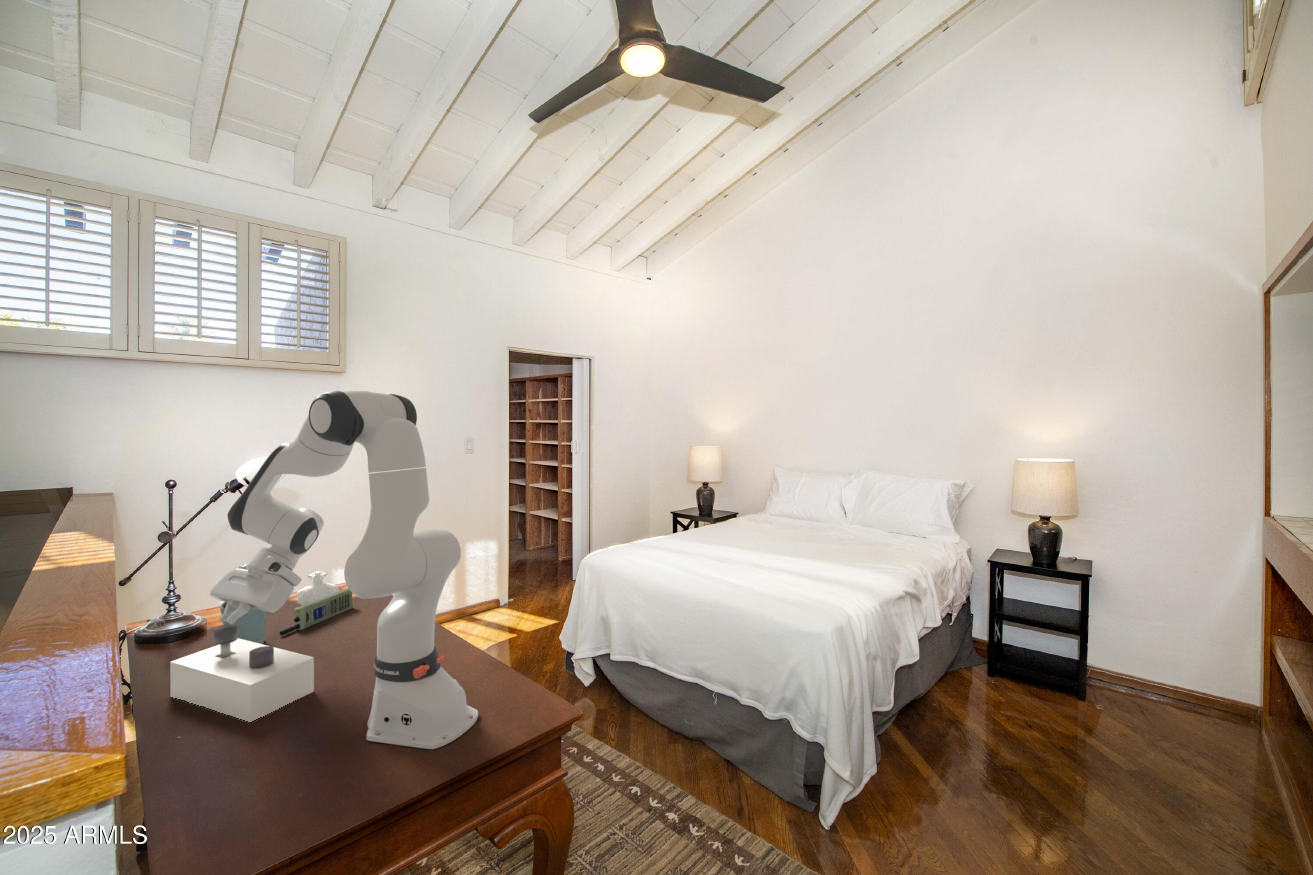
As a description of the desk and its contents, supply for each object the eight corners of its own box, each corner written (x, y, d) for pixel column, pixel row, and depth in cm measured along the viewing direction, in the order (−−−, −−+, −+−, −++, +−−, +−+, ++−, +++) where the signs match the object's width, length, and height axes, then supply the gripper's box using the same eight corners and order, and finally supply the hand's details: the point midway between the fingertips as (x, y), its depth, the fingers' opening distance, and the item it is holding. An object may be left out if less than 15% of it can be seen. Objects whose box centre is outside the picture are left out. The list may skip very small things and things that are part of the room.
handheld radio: (354, 608, 178) (286, 638, 154) (346, 607, 179) (276, 637, 155) (354, 588, 178) (285, 615, 154) (345, 587, 179) (275, 614, 154)
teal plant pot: (276, 638, 153) (276, 596, 152) (245, 654, 143) (245, 609, 142) (243, 636, 154) (242, 594, 153) (210, 651, 144) (210, 606, 143)
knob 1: (242, 654, 127) (242, 625, 126) (221, 662, 123) (221, 632, 122) (229, 651, 128) (229, 622, 128) (208, 658, 124) (208, 629, 124)
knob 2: (278, 677, 123) (278, 648, 122) (258, 686, 119) (258, 656, 118) (264, 674, 124) (264, 644, 124) (244, 682, 120) (244, 652, 120)
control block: (313, 691, 126) (313, 657, 125) (250, 722, 113) (250, 684, 112) (237, 669, 135) (237, 637, 134) (170, 696, 122) (170, 661, 121)
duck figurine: (338, 605, 186) (335, 574, 191) (341, 597, 181) (338, 565, 186) (296, 612, 178) (294, 580, 183) (298, 604, 173) (296, 570, 178)
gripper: (230, 557, 135) (185, 608, 126) (289, 568, 128) (245, 623, 119) (249, 570, 140) (206, 621, 131) (306, 581, 133) (265, 635, 124)
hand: (225, 622), depth 125 cm, fingers closed
